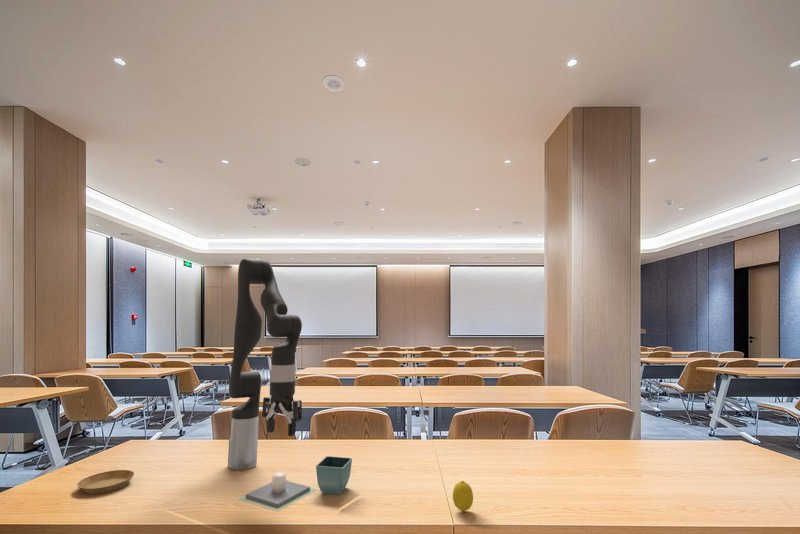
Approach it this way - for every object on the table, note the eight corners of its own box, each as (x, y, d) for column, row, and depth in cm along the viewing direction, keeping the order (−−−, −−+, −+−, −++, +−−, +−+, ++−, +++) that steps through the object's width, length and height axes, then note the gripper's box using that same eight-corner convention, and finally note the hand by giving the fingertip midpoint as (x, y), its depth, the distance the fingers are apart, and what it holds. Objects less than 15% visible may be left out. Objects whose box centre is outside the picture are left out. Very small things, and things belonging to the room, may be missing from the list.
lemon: (451, 507, 111) (450, 477, 112) (470, 506, 111) (469, 476, 113) (455, 517, 106) (454, 485, 107) (475, 516, 106) (475, 484, 107)
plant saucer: (115, 496, 120) (116, 487, 120) (63, 498, 119) (64, 488, 119) (143, 477, 134) (143, 469, 135) (97, 478, 133) (98, 470, 134)
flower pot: (342, 500, 116) (343, 467, 117) (314, 497, 118) (315, 465, 119) (352, 487, 125) (352, 457, 126) (325, 485, 126) (326, 455, 128)
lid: (245, 497, 116) (246, 478, 117) (279, 482, 128) (279, 464, 128) (277, 507, 110) (278, 487, 111) (309, 490, 121) (310, 471, 122)
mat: (237, 501, 116) (237, 498, 116) (279, 481, 130) (279, 479, 130) (277, 513, 108) (277, 511, 108) (316, 491, 122) (316, 489, 122)
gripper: (257, 379, 124) (254, 433, 121) (291, 382, 117) (289, 440, 115) (275, 376, 130) (273, 428, 128) (308, 379, 123) (307, 433, 121)
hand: (280, 433), depth 121 cm, fingers open, 8 cm apart
